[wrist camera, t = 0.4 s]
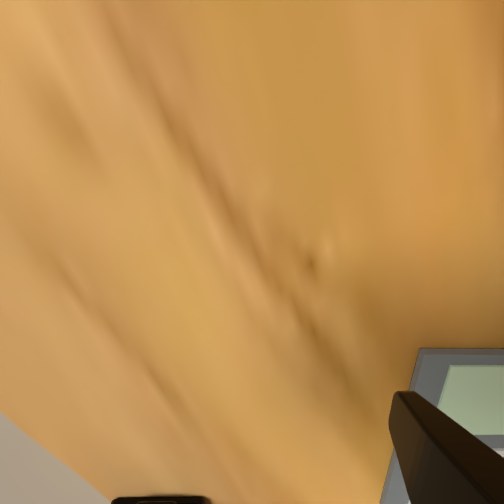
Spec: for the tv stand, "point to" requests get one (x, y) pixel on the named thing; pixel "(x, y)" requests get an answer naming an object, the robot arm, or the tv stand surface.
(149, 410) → the tv stand surface
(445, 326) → the tv stand surface
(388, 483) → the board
